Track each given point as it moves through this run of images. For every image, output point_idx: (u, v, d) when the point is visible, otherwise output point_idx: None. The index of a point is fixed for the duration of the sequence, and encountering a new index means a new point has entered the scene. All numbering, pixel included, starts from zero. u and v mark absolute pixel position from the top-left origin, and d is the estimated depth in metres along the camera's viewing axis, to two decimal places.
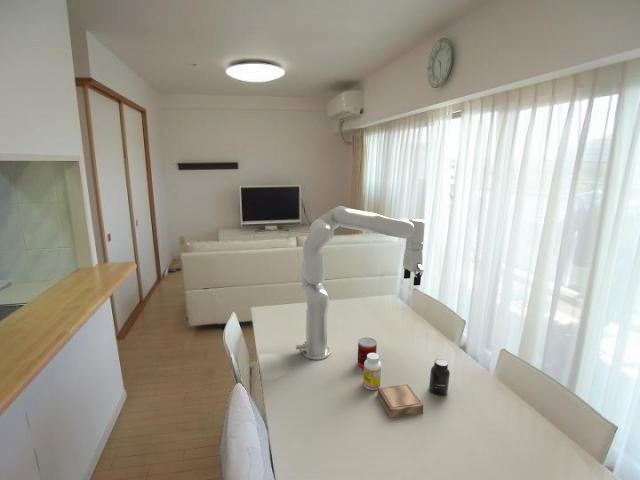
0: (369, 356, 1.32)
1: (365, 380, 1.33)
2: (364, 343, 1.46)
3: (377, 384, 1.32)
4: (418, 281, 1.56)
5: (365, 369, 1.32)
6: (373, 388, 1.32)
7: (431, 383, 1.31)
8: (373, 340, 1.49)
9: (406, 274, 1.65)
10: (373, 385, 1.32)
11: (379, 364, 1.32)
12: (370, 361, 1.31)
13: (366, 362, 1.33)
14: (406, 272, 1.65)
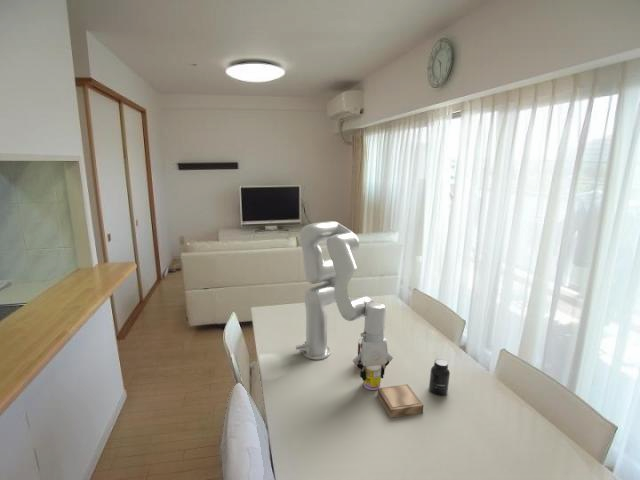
0: None
1: (365, 380, 1.33)
2: None
3: (377, 384, 1.32)
4: None
5: (365, 369, 1.32)
6: (373, 388, 1.32)
7: (431, 383, 1.31)
8: None
9: None
10: (373, 385, 1.32)
11: None
12: None
13: None
14: None
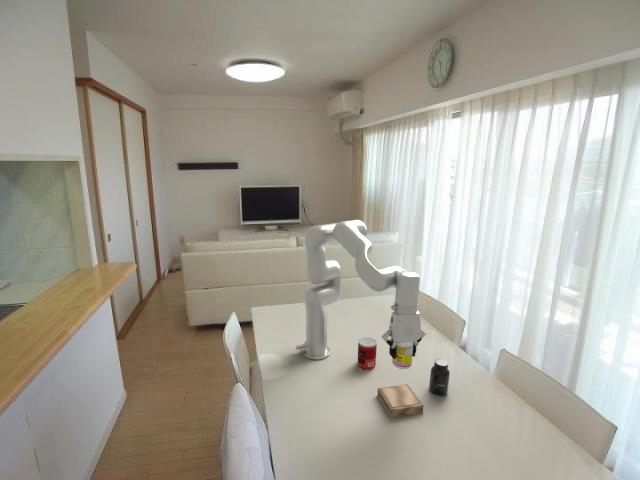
0: None
1: (395, 358, 1.20)
2: (364, 343, 1.46)
3: (409, 363, 1.19)
4: None
5: (395, 346, 1.19)
6: (404, 367, 1.19)
7: (431, 383, 1.31)
8: (373, 340, 1.49)
9: None
10: (405, 364, 1.18)
11: None
12: None
13: None
14: None
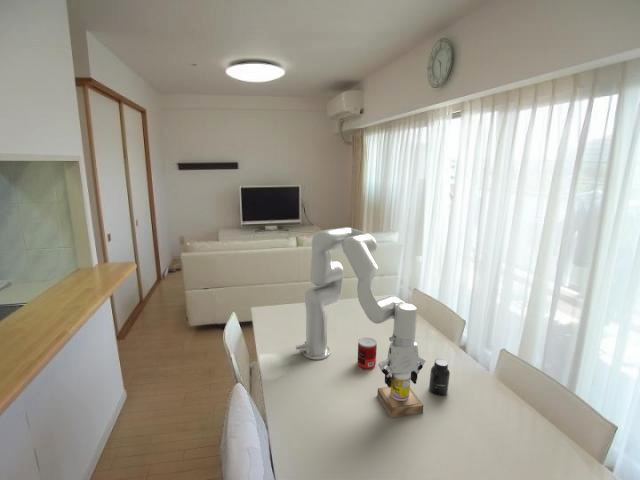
0: None
1: (393, 390, 1.22)
2: (364, 343, 1.46)
3: (406, 394, 1.22)
4: None
5: (393, 378, 1.22)
6: (402, 399, 1.21)
7: (431, 383, 1.31)
8: (373, 340, 1.49)
9: None
10: (402, 396, 1.21)
11: (409, 373, 1.21)
12: None
13: None
14: None
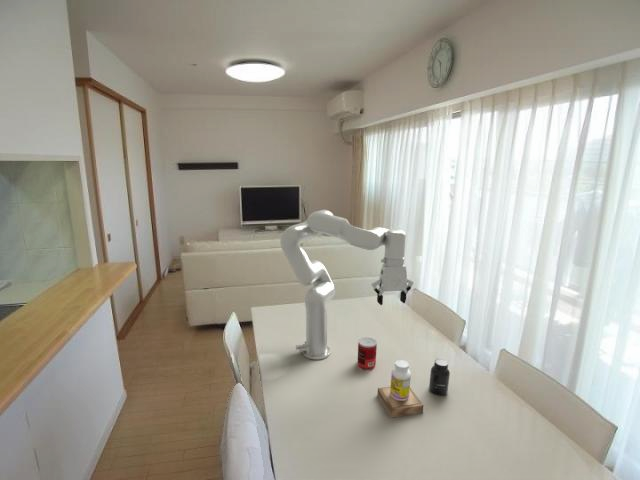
0: (398, 364, 1.22)
1: (393, 390, 1.22)
2: (364, 343, 1.46)
3: (406, 394, 1.22)
4: None
5: (393, 378, 1.22)
6: (402, 399, 1.21)
7: (431, 383, 1.31)
8: (373, 340, 1.49)
9: None
10: (402, 396, 1.21)
11: (408, 373, 1.21)
12: (399, 369, 1.20)
13: (394, 370, 1.22)
14: None
